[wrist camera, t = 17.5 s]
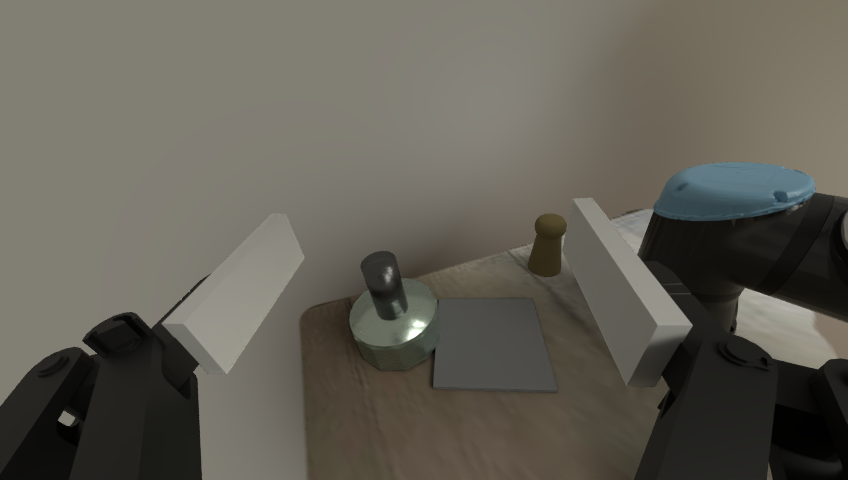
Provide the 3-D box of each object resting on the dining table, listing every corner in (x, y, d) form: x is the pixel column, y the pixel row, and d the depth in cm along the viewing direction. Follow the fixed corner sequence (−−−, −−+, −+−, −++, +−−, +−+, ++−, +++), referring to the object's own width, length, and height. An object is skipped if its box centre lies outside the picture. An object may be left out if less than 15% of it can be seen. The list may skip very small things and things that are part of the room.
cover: (442, 300, 53) (430, 231, 44) (438, 370, 42) (421, 295, 34) (370, 303, 55) (346, 237, 47) (349, 370, 44) (313, 300, 36)
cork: (559, 258, 60) (569, 210, 53) (562, 278, 55) (572, 228, 49) (527, 255, 61) (533, 208, 55) (527, 274, 57) (533, 226, 50)
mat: (532, 300, 51) (532, 298, 51) (557, 393, 38) (557, 390, 38) (439, 301, 54) (439, 298, 53) (433, 388, 41) (433, 386, 40)
